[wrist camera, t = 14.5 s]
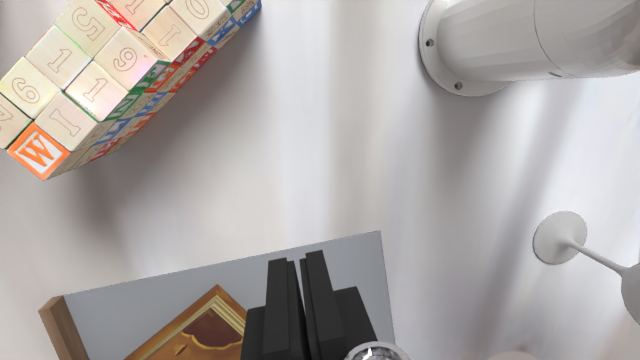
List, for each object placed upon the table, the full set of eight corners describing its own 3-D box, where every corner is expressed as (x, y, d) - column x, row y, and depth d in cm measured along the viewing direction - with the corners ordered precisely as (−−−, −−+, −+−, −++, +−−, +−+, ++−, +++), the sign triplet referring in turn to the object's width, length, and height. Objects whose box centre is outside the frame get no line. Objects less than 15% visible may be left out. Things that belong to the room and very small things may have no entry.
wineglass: (580, 199, 45) (830, 292, 24) (591, 249, 47) (831, 373, 26) (525, 224, 45) (729, 337, 24) (539, 273, 47) (738, 415, 26)
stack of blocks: (216, -48, 34) (182, -121, 22) (263, 6, 35) (255, -35, 23) (65, 108, 36) (-42, 118, 24) (116, 153, 37) (40, 183, 25)
